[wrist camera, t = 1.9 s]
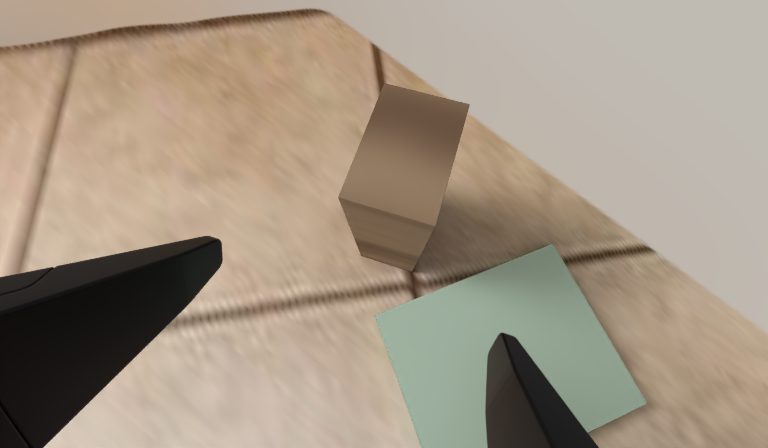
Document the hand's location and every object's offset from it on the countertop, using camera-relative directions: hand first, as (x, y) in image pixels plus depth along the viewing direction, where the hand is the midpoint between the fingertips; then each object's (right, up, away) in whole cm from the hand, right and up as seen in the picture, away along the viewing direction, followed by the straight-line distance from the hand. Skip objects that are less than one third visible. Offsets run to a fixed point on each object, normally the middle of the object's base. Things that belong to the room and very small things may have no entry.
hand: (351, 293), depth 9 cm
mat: (+9, -7, +11) cm, 16 cm away
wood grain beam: (+2, +2, +14) cm, 14 cm away
